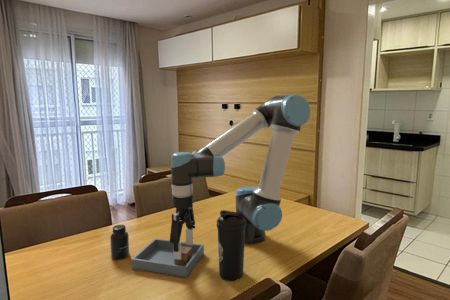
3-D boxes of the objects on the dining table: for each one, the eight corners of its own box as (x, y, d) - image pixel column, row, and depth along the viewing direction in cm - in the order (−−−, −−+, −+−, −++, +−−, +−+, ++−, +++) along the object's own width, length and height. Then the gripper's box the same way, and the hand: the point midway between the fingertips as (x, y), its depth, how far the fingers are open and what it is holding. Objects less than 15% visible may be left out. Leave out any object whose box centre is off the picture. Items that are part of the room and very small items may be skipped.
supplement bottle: (123, 260, 115) (122, 231, 114) (107, 258, 117) (105, 229, 115) (132, 252, 122) (131, 224, 120) (117, 250, 123) (115, 222, 122)
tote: (203, 254, 120) (203, 244, 120) (186, 278, 103) (186, 267, 103) (155, 247, 126) (155, 238, 125) (131, 269, 109) (131, 259, 109)
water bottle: (216, 267, 111) (215, 207, 107) (243, 265, 112) (243, 206, 108) (217, 283, 101) (217, 218, 97) (247, 281, 102) (248, 216, 98)
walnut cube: (192, 259, 115) (191, 247, 114) (186, 266, 110) (186, 253, 109) (180, 257, 116) (179, 245, 115) (174, 264, 111) (174, 251, 111)
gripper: (185, 185, 121) (186, 237, 124) (157, 203, 99) (160, 265, 102) (202, 187, 119) (203, 239, 122) (178, 205, 97) (180, 269, 100)
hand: (183, 251), depth 112 cm, fingers open, 10 cm apart
